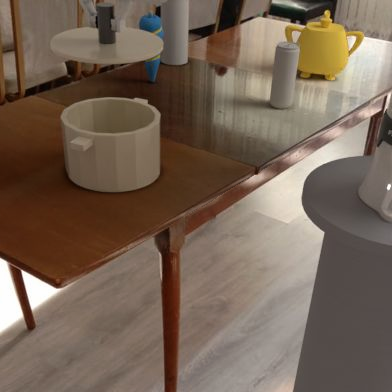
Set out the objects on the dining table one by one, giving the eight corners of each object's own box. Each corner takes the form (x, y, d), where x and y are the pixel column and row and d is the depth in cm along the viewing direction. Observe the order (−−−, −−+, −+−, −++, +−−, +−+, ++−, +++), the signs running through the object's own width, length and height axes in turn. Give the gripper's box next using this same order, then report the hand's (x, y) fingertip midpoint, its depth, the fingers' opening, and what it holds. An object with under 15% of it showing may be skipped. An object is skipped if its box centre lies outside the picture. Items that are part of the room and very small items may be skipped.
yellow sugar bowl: (361, 76, 148) (372, 21, 140) (318, 87, 142) (327, 30, 134) (319, 59, 156) (328, 7, 149) (277, 69, 150) (283, 14, 142)
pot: (181, 156, 112) (183, 102, 106) (125, 208, 97) (122, 150, 91) (104, 138, 117) (101, 86, 110) (39, 185, 102) (31, 129, 96)
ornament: (155, 87, 137) (154, 12, 128) (135, 83, 139) (133, 8, 129) (167, 81, 141) (168, 7, 131) (148, 76, 143) (147, 3, 133)
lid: (181, 44, 98) (182, 0, 94) (130, 76, 86) (129, 27, 82) (88, 28, 103) (85, -15, 98) (28, 56, 91) (21, 9, 87)
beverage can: (265, 106, 132) (272, 45, 124) (273, 99, 135) (280, 39, 127) (287, 111, 130) (295, 49, 122) (295, 103, 133) (303, 43, 125)
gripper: (181, -79, 83) (179, 34, 92) (49, -94, 88) (60, 14, 97) (160, -73, 78) (160, 46, 87) (23, -89, 84) (36, 24, 93)
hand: (106, 29), depth 92 cm, fingers closed on lid, 2 cm apart
